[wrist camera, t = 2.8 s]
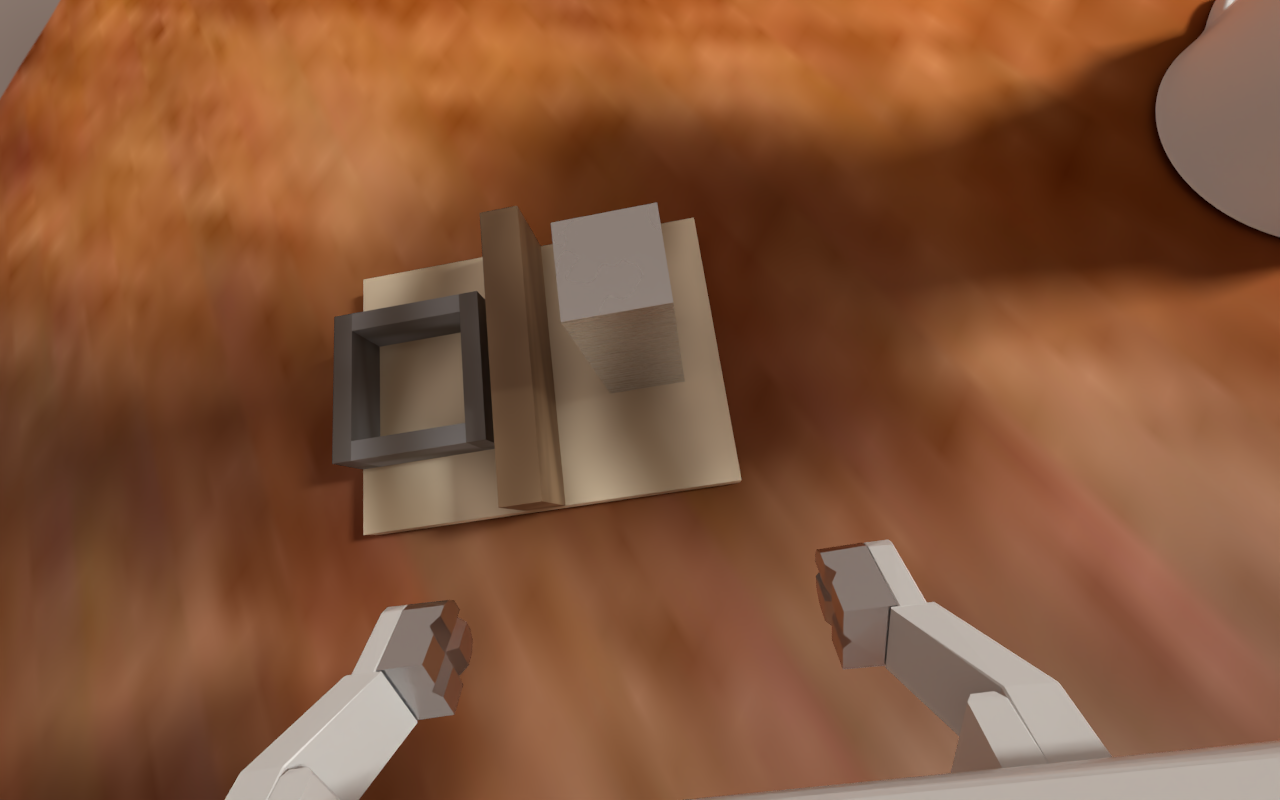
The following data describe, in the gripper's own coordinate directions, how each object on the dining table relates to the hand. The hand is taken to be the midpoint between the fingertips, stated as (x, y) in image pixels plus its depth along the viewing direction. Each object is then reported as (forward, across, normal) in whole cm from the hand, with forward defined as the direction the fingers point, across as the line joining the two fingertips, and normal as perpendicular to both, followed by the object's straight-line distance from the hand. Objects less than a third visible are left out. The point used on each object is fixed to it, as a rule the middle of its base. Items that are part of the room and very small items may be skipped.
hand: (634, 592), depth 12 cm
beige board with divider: (+19, +6, +4) cm, 20 cm away
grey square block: (+18, 0, +3) cm, 18 cm away
